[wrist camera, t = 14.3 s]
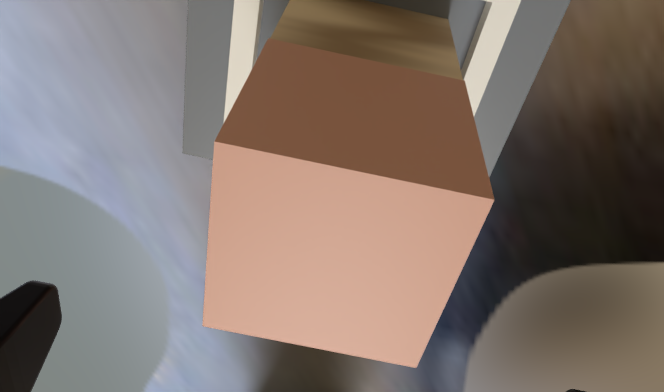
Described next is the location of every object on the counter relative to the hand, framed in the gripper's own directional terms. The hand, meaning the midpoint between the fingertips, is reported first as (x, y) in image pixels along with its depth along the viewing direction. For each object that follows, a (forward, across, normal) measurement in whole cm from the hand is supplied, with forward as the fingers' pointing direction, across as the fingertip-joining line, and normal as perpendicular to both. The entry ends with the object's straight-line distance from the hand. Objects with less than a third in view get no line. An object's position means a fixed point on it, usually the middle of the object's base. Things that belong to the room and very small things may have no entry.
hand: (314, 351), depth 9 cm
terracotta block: (+7, 0, 0) cm, 7 cm away
